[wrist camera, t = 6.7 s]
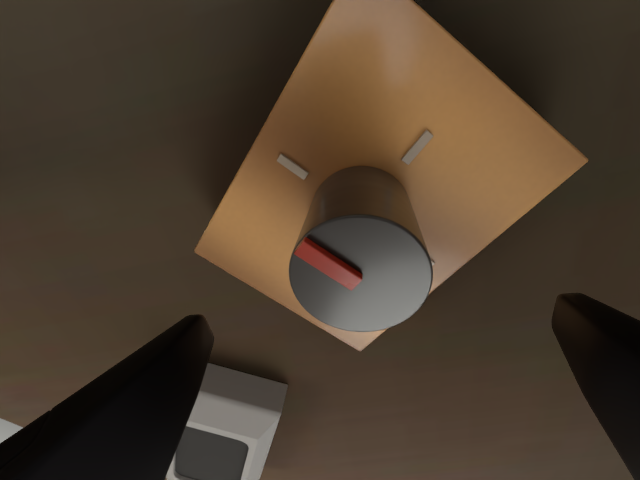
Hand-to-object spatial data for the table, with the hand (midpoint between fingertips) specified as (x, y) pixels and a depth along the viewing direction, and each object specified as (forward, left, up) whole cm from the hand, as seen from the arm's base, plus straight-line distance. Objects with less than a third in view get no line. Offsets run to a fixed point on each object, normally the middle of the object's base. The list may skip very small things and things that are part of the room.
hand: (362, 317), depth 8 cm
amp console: (0, 0, -10) cm, 10 cm away
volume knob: (0, 0, -7) cm, 7 cm away
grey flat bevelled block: (-26, -4, -10) cm, 28 cm away
